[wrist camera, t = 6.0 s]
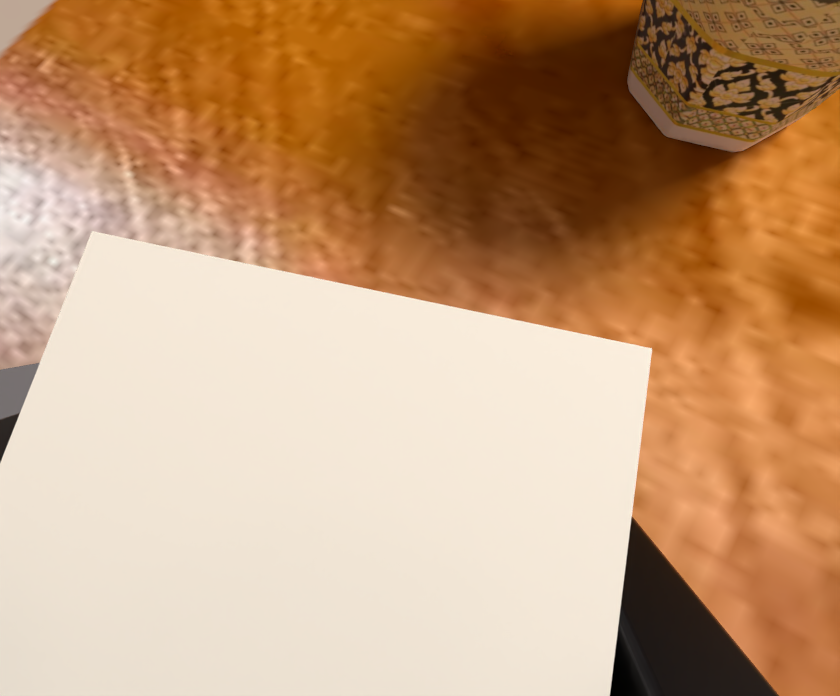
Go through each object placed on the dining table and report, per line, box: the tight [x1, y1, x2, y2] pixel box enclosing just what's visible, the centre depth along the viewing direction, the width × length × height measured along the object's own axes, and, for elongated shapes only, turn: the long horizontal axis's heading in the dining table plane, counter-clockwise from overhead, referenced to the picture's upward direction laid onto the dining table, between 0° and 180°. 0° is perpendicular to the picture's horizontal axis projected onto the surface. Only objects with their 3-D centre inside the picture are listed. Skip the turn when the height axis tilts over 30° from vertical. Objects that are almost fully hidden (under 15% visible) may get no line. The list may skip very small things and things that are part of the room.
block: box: [0, 231, 652, 696], centre depth 10 cm, size 5×5×9 cm
